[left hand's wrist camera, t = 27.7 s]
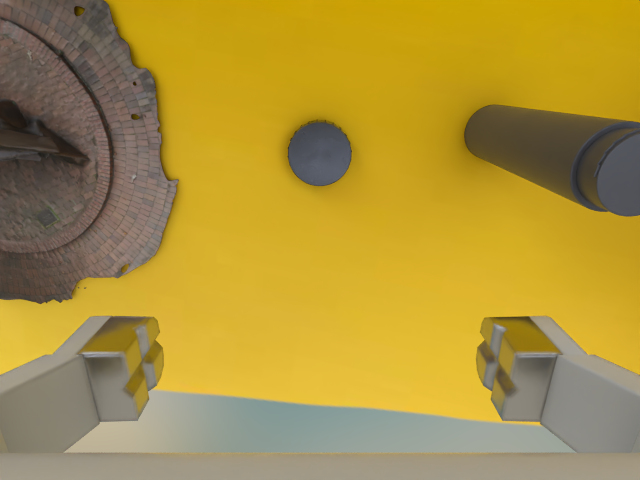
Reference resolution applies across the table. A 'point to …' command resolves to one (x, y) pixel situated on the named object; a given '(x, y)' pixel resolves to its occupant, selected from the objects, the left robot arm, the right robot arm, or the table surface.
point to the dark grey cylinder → (563, 154)
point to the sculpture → (74, 151)
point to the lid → (319, 153)
